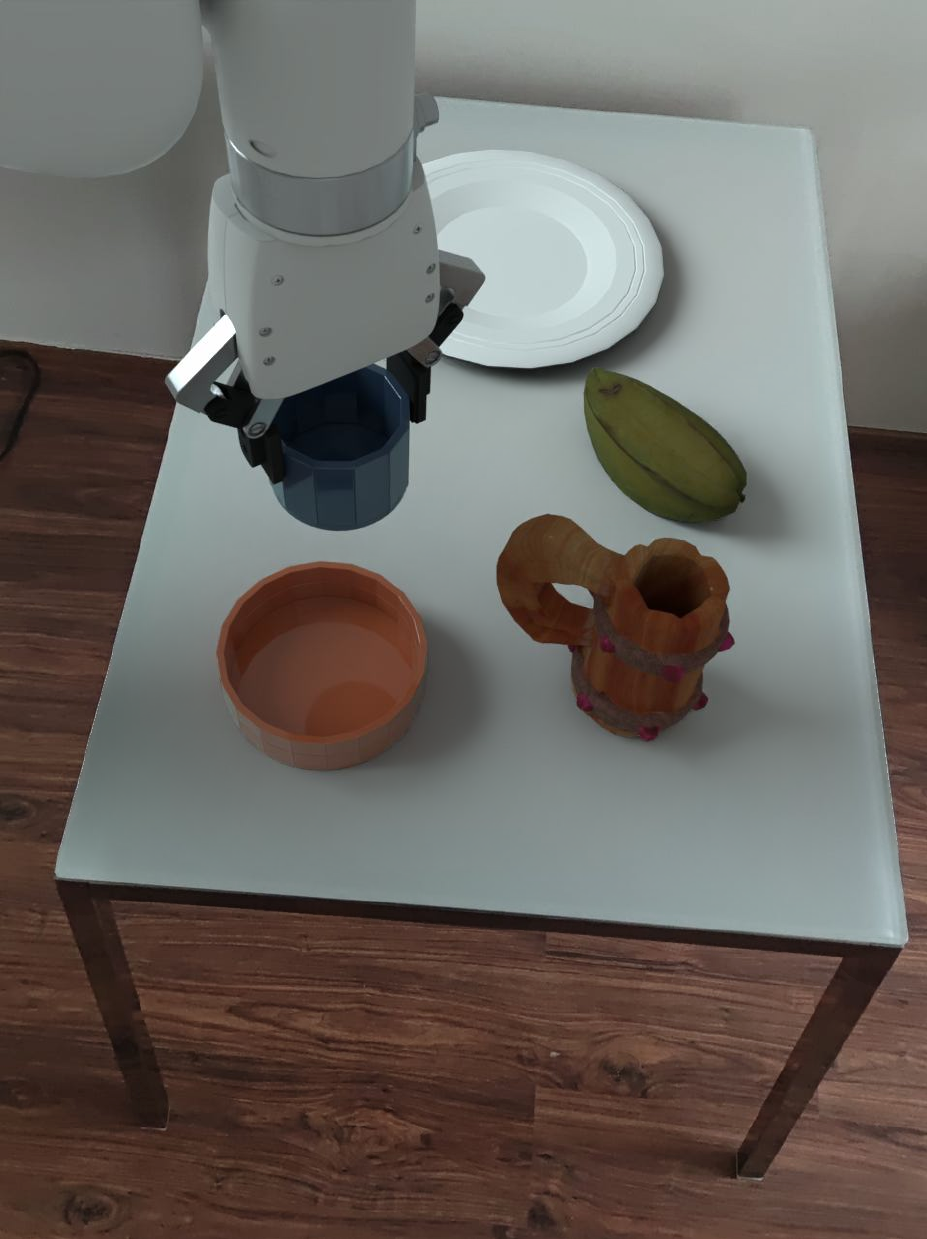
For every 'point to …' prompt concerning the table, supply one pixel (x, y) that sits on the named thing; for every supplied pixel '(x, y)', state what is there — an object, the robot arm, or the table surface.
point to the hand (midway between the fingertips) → (337, 432)
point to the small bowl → (345, 450)
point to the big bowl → (323, 665)
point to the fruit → (661, 450)
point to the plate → (542, 257)
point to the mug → (620, 620)
